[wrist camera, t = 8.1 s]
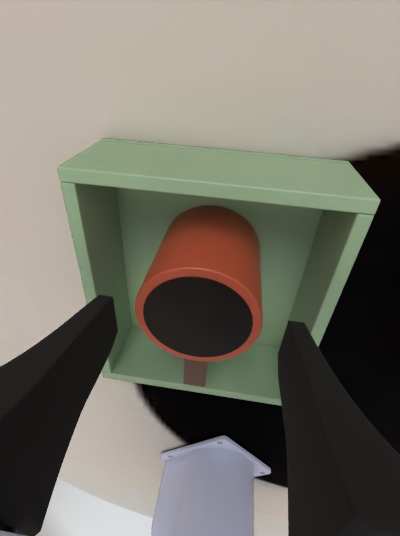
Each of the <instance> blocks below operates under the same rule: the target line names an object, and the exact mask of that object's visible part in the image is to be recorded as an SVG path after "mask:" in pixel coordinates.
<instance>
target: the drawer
mask: <svg viewBox="0 0 400 536" xmlns="http://www.w3.org/2000/svg"><path fill="white" fill-rule="evenodd" d="M57 170H58V174H59V179H60V181H61V183H60V184H61V188H62V193H63V198H64V202H65V207H66V211H67V216H68V220H69V225H70V229H71V234H72V238H73V243H74V247H75V252H76V256H77V261H78V265H79V270H80V274H81V279H82V283H83V288H84V292H85V297H86V301H87V304H88V303H89V302H91V301H92V300H93V299H94V298H95V297H97V296H98V295H105V296H112V297H113V300H114V307H115V313H116V320H117V327H118V332H117V335H116V338H115V341H114V344H113V347H112V350H111V352H110V355H109V357H108V359H107V361H106V363H105V365H104V367H103V369H102V373H103V377H104V378H110V379H116V380H122V381H129V382H135V383H141V384H148V385H154V386H160V387H167V388H173V389H179V390H186V391H192V392H198V393H205V394H211V395H217V396H224V397H230V398H236V399H243V400H249V401H255V402H262V403H268V404H274V405H281V406H282V404H281V397H280V389H279V381H278V352H279V349H280V346H281V342H282V339H283V336H284V333H285V330H286V327H287V323H288V321H296V322H303V323H305V324H306V326H307V328H308V330H309V332H310V334H311V336H312V337H313V339H314V341H315V343H316V345H317V346H319V344H320V341H321V339H322V337H323V334H324V332H325V330H326V327H327V325H328V323H329V320H330V318H331V316H332V313H333V311H334V309H335V306H336V304H337V302H338V299H339V297H340V294H341V292H342V290H343V287H344V285H345V283H346V280H347V278H348V276H349V273H350V271H351V269H352V266H353V264H354V262H355V259H356V257H357V255H358V252H359V250H360V248H361V245H362V243H363V241H364V238H365V236H366V234H367V231H368V229H369V227H370V224H371V222H372V219H373V217H374V214H375V212H376V210H377V208H378V205H379V203H380V199H379V197H378V196H377V195H376V194H375V193H374V191H373V190H372V189H371V188H370V187H369V185H368V184H367V183H366V182H365V181H364V180H363V178H362V177H361V176H360V175H359V174H358V172H357V171H356V170H355V169H354V168H353V166H352V165H351V164H350V163H349V161H343V160H332V159H321V158H311V157H300V156H289V155H278V154H268V153H257V152H246V151H236V150H225V149H214V148H203V147H193V146H182V145H171V144H161V143H150V142H139V141H128V140H118V139H107V138H103V139H102V140H100V141H98V142H97V143H95V144H94V145H92V146H90V147H89V148H87V149H85V150H84V151H82V152H81V153H79V154H77V155H76V156H74V157H72V158H71V159H69V160H67V161H66V162H64V163H63V164H61V165H59V166H58V167H57ZM200 206H219V207H224V208H227V209H230V210H232V211H234V212H236V213H238V214H239V215H241V216H242V217H244V218H245V219H246V220H247V221H248V222H249V223H250V224H251V225H252V227H253V228H254V230H255V232H256V233H257V236H258V239H259V243H260V260H261V287H262V313H263V324H262V329H261V332H260V335H259V336H258V338H257V340H256V341H255V342H254V344H253V345H252V346H251V347H250V348H249V349H247V350H246V351H244V352H243V353H241V354H239V355H237V356H235V357H232V358H229V359H225V360H219V361H208V365H207V374H206V382H205V387H200V386H194V385H188V384H183V373H184V358H182V357H178V356H176V355H173V354H171V353H169V352H167V351H165V350H163V349H161V348H160V347H158V346H157V345H156V344H154V343H153V342H152V341H151V340H150V339H149V338H148V337H147V336H146V335H145V334H144V332H143V331H142V330H141V328H140V326H139V324H138V322H137V319H136V315H135V300H136V297H137V294H138V292H139V289H140V287H141V285H142V283H143V281H144V279H145V277H146V274H147V272H148V270H149V268H150V266H151V264H152V262H153V259H154V257H155V255H156V253H157V251H158V249H159V246H160V244H161V242H162V240H163V238H164V236H165V234H166V231H167V229H168V228H169V226H170V224H171V223H172V222H173V220H174V219H175V218H176V217H178V216H179V215H180V214H182V213H183V212H185V211H187V210H189V209H192V208H195V207H200Z"/></svg>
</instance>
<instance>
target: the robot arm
mask: <svg viewBox="0 0 400 536" xmlns="http://www.w3.org/2000/svg"><path fill="white" fill-rule="evenodd" d="M117 332H118V327H117V320H116V313H115V307H114V300H113V297H112V296H105V295H98V296H97V297H95V298H94V299H93V300H92V301H91V302H89V303H88V304H87V305H86V306H85V307H83V308H82V309H81V310H80V311H79V312H77V313H76V314H75V315H74V316H73V317H71V318H70V319H69V320H68V321H66V322H65V323H64V324H63V325H61V326H60V327H59V328H58V329H56V330H55V331H54V332H52V333H51V334H50V335H48V336H47V337H45V338H44V339H43V340H41V341H40V342H39V343H37V344H36V345H34V346H33V347H31V348H30V349H29V350H27V351H26V352H24V353H22V354H21V355H19V356H18V357H16V358H14V359H13V360H11V361H10V362H8V363H6V364H4V365H3V366H1V367H0V536H35V535H36V534H38V533H39V532H40V531H41V528H42V524H43V521H44V518H45V515H46V511H47V508H48V505H49V502H50V499H51V495H52V492H53V489H54V486H55V483H56V480H57V477H58V474H59V471H60V468H61V465H62V462H63V459H64V457H65V454H66V451H67V448H68V446H69V443H70V440H71V438H72V435H73V432H74V430H75V427H76V424H77V422H78V419H79V417H80V414H81V412H82V409H83V407H84V405H85V403H86V401H87V399H88V397H89V395H90V393H91V391H92V389H93V387H94V385H95V383H96V381H97V379H98V377H99V375H100V373H101V371H102V369H103V367H104V365H105V363H106V361H107V359H108V357H109V355H110V352H111V350H112V347H113V344H114V341H115V338H116V335H117ZM278 381H279V389H280V397H281V404H282V412H283V419H284V427H285V434H286V445H287V470H288V522H289V536H400V455H399V454H398V453H397V452H396V451H395V450H394V449H393V448H392V446H391V445H390V444H389V443H388V442H387V441H386V440H385V439H384V438H383V437H382V436H381V435H380V433H379V432H378V431H377V430H376V429H375V428H374V426H373V425H372V424H371V423H370V422H369V420H368V419H367V418H366V417H365V416H364V414H363V413H362V412H361V411H360V409H359V408H358V407H357V405H356V404H355V403H354V402H353V400H352V399H351V397H350V396H349V395H348V393H347V392H346V390H345V389H344V388H343V386H342V385H341V383H340V382H339V380H338V379H337V377H336V376H335V374H334V373H333V371H332V370H331V368H330V366H329V365H328V363H327V362H326V360H325V358H324V357H323V355H322V353H321V352H320V350H319V348H318V346H317V345H316V343H315V341H314V339H313V337H312V336H311V334H310V332H309V330H308V328H307V326H306V324H305V323H303V322H296V321H288V323H287V327H286V330H285V333H284V336H283V339H282V342H281V346H280V349H279V352H278ZM160 459H161V460H163V461H165V464H164V469H163V474H162V478H161V483H160V488H159V493H158V497H157V502H156V507H155V512H154V516H153V521H152V532H151V533H152V536H254V477H256V476H261V475H266V474H270V473H271V469H270V467H268V466H267V465H266V464H264V463H263V462H261V461H260V460H259V459H257V458H256V457H255V456H253V455H252V454H250V453H249V452H248V451H246V450H245V449H244V448H242V447H241V446H240V445H238V444H237V443H235V442H234V441H233V440H231V439H230V438H229V437H227V436H219V437H215V438H212V439H209V440H205V441H202V442H198V443H195V444H191V445H188V446H185V447H181V448H178V449H174V450H171V451H167V452H164V453H161V454H160Z"/></svg>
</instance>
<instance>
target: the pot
mask: <svg viewBox="0 0 400 536" xmlns="http://www.w3.org/2000/svg"><path fill="white" fill-rule="evenodd" d="M135 315H136V319H137V322H138V324H139V326H140V328H141V330H142V331H143V332H144V334H145V335H146V336H147V337H148V338H149V339H150V340H151V341H152V342H153V343H154V344H156V345H157V346H158V347H160V348H161V349H163V350H165V351H167V352H169V353H171V354H173V355H176V356H178V357H182V358H184V373H183V384H188V385H194V386H200V387H205V382H206V374H207V365H208V361H219V360H225V359H229V358H232V357H235V356H237V355H239V354H241V353H243V352H244V351H246V350H247V349H249V348H250V347H251V346H252V345H253V344H254V342H255V341H256V340H257V338H258V336H259V335H260V332H261V329H262V324H263V313H262V287H261V260H260V243H259V239H258V236H257V233H256V232H255V230H254V228H253V227H252V225H251V224H250V223H249V222H248V221H247V220H246V219H245V218H244V217H242V216H241V215H239V214H238V213H236V212H234V211H232V210H230V209H227V208H224V207H219V206H200V207H195V208H192V209H189V210H187V211H185V212H183V213H182V214H180V215H179V216H178V217H176V218H175V219H174V220H173V222H172V223H171V224H170V226H169V228H168V229H167V231H166V234H165V236H164V238H163V240H162V242H161V244H160V246H159V249H158V251H157V253H156V255H155V257H154V259H153V262H152V264H151V266H150V268H149V270H148V272H147V274H146V277H145V279H144V281H143V283H142V285H141V287H140V289H139V292H138V294H137V297H136V300H135Z"/></svg>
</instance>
